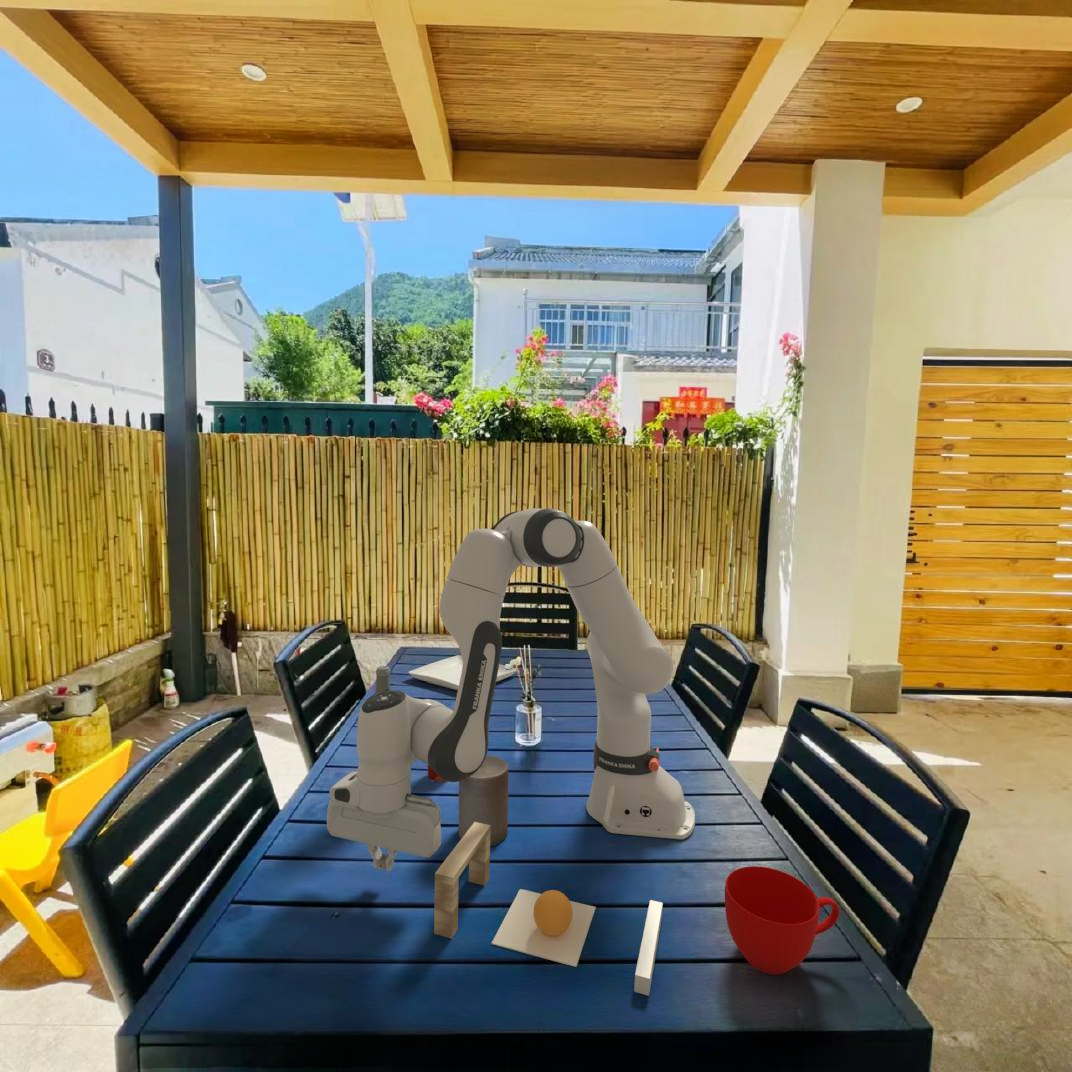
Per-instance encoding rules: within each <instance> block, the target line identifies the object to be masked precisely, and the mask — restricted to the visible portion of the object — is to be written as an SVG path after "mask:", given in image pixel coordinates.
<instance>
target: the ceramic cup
mask: <svg viewBox="0 0 1072 1072" xmlns="http://www.w3.org/2000/svg"><path fill="white" fill-rule="evenodd" d="M826 906H832V907H831V908H832V909H831V911H830V913H829V915H828V916H827V917H826V918H825V919H824V920H822V921H821V922H820V923H819V920H820V912H821V910H820V909H821V908H823V907H826ZM724 908H725V917H726V918H725V919H726V923H727V927H728V928H727V929H728V931H729V933H730V935H731V937H732V941H733V942H734V944H735V946H736V947H737V949H738V950H739V952H740V953H741V955H742V956H744V959H745V961H747V962H748V964H750V966H752V967H753V968H755V969H756V970H758V971H760V972H762V973H766V974H769V975H776V976H777V975H783V974H786V973H787V972H788V971H790V970H793V969H795V968H796V967H797V966H799V965H801V964H802V962H803V961H804V960H805V959H806V957H807V956H808V955H809V954H810V951H811V949H812V947H813V944H814V941H815V938H816V936H817V935H820V934H822V933H824V932H827V931H828V930H829V929H830V928H832V927H833V926H834V925H835V924H836V922H837V920H838V919H839V917H840V916H839V915H840V907H839V905H838V904H837V902H836V901H835V900H834V899H832V898H831V897H826V896H823V897H819V898H818V897H817V896H816V894H815V892H814V891H812V889H811V888H810V887H809V886H808V885H807V884H805V883H804V882H803V881H802V880H800V879H798V878H797V877H795V876H793V875H791V874H788V873H787V872H784V871H781V870H779V869H775V868H772V867H767V866H759V865H758V866H757V865H756V866H754V865H752V866H743V867H740V868H737V869H735V870H733V871H731V873H729V875H728V876H727V878H726V880H725V884H724Z"/></svg>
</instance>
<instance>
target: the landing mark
mask: <svg viewBox="0 0 1072 1072" xmlns="http://www.w3.org/2000/svg"><path fill="white" fill-rule="evenodd" d="M541 894H542V893H539V892H534V891H531V890H527V889H521V888H519V890H518V892H517V894H516V896H515V898H514V900H513V902H512V904H511V905H510V907H509V909H508V910H507V913H506V915H505V917H504V919H503V921H502V923H501V924H500V927H499V928H498V930H497V932H496V934H495V935H494V937H493V940H491V945H494V946H497V947H500V948H503V949H504V948H505V949H507V950H512V951H515V952H519V953H523V954H526V955H530V956H535V957H537V958H538V957H539V958H541V959H544V960H550V961H552V962H556V963H560V964H564V965H567V966H571V967H575V968H577V966H578V964H579V960H580V957H581V954H582V951H583V947H584V945H585V943H586V942H585V941H586V938H587V936H588V933H589V930H590V926H591V924H592V920H593V917H594V915H595V911H596V908H597V907H596V906H593V905H590V904H584V903H581V902H577V901H576V902H575V901H572V900H569V901H570V903H571V906H572V912H573V915H572V921H571V923H570V925H569V927H568V928H567V930H566V931H565V932H563V933H562V934H560V935H556V936H551V935H547V934H545V933H543V932H542V931H541V930H540V929H539V928H538V926H537V925H536V923H535V920H534V905H535V903H536V901H537V899H538V897H539V896H540V895H541Z"/></svg>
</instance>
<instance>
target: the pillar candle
mask: <svg viewBox="0 0 1072 1072" xmlns="http://www.w3.org/2000/svg"><path fill="white" fill-rule="evenodd" d="M508 815H509V763H508V762H507V761H506V760H505V759H503V758H501V757H498V756H496V755H489V754H488V755H486V758H485V760H484V762H483V764H482V765H481V767H480V768H479V769H478V770H477V771H476V772H475V773H474V774H473V775H471V776H470V777H468V778H466V779H464V780H461V781H458V837H459V839H460V840H461V839H462V838H463V836H464V835H465V834H466V832H467V831H468V830H469V828H470V827H471V826H472V825H473V823H474V822H477V823H482V824H487V825H491V832H490V847H491V846H494V845H497V844H499V843H500V842H502V841H503V840H504V839H505V838H506V837H507V836H508V834H509V833H508V832H509V831H508V828H509V827H508V824H509V816H508Z"/></svg>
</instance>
